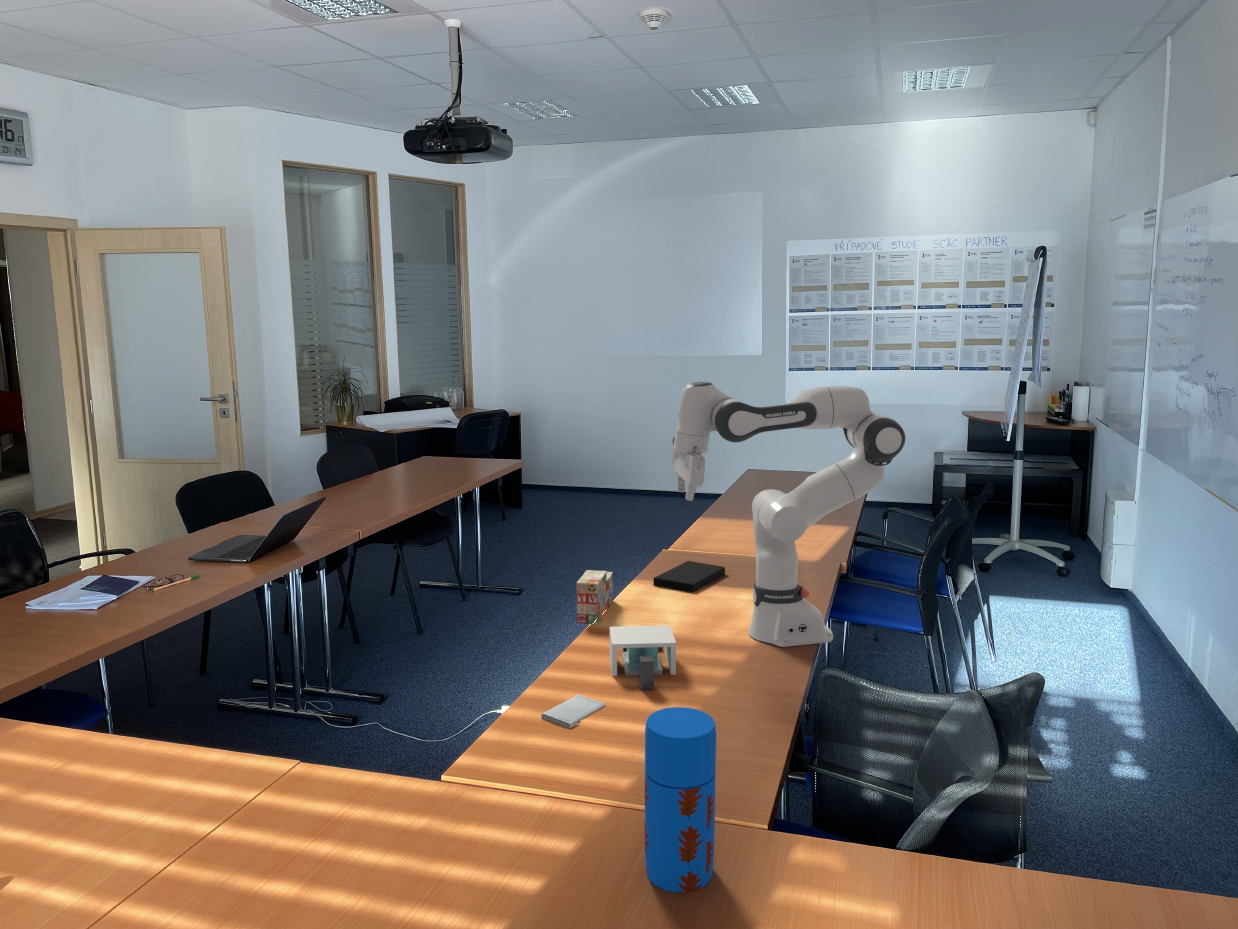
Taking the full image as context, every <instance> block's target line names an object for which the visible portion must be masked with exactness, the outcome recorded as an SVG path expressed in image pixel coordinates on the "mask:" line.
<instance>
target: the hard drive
mask: <svg viewBox="0 0 1238 929" xmlns="http://www.w3.org/2000/svg"><path fill="white" fill-rule="evenodd" d="M606 705H607V704H606V703H605V702H602V701H600V700H597V699H594V698H590V697H587V696H584V695H581V694H577V695H575V696H573V697H571V698H570V699H567V700H565V701H563V702H561V703H560V704H557V705H556V706H554V707H552V708H550V709H549V710H546V711H545V712H542V713H540V714H541V716H540V718H541V719H543V720H547V721H548V722H552V723H554V724H557V725H560V726H562V727H565V728H568V729H572V728H573V727H575V726H577V725H578V724H580V723H581V721H582V720H583V719H585V718H587V717H588V716H590V715H592V714H594V713H595V712H598V711H599V710H601V709H602V708H604V707H606Z"/></svg>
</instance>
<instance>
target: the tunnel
mask: <svg viewBox="0 0 1238 929" xmlns="http://www.w3.org/2000/svg"><path fill="white" fill-rule="evenodd" d="M644 647H662V648H664V649H665V653H664V656H665V659H666V662H667V666H668V668H669V669H668V670H669V673H670V676H671V675H677V674H676V673H677V642H676V638H675V635H674V632H673V629H672V627H671V625H669V624H668V625H666V624H665V625H631V626H630V625H628V626H627V625H626V626H624V625H623V626H622V625H621V626H620V625H619V626H609V662H610V670H611V677H618V649H623V648H644Z"/></svg>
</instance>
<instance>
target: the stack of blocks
mask: <svg viewBox="0 0 1238 929" xmlns="http://www.w3.org/2000/svg"><path fill="white" fill-rule="evenodd" d="M613 575H614V573H613V571H607V570H591V569H589V570H588V569H586V571H584V572H583V574H582V576H581V577H580V578H579V579H578V580H577V581H576V624H581V625H582V624H583V625H588V624H589V625H596V623H597V625H599V624H600V622H601V621H602V620H603V618H602V617H603V616H604V617H605V615H606V613H607V611H606V612H604V611H605V610H606V609H607V608H608V607H609V606H610V607H611V606H612V603H614V576H613ZM610 607H609V608H610ZM609 608H608V609H609ZM603 612H604V614H603ZM602 614H603V615H602ZM596 619H597V620H596ZM595 620H596V622H595V623H594V621H595ZM592 623H594V624H592Z"/></svg>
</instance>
